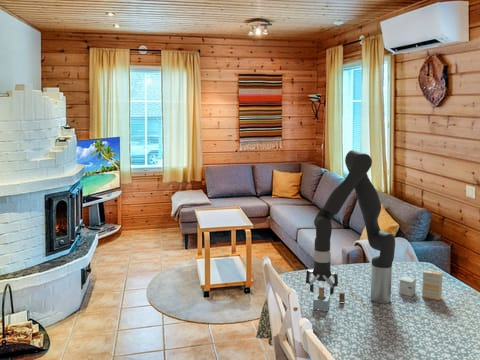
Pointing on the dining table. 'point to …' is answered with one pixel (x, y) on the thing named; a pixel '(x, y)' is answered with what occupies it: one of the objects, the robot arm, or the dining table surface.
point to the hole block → (321, 302)
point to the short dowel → (341, 297)
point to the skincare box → (407, 286)
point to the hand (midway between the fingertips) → (321, 293)
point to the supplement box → (432, 284)
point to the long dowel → (321, 292)
